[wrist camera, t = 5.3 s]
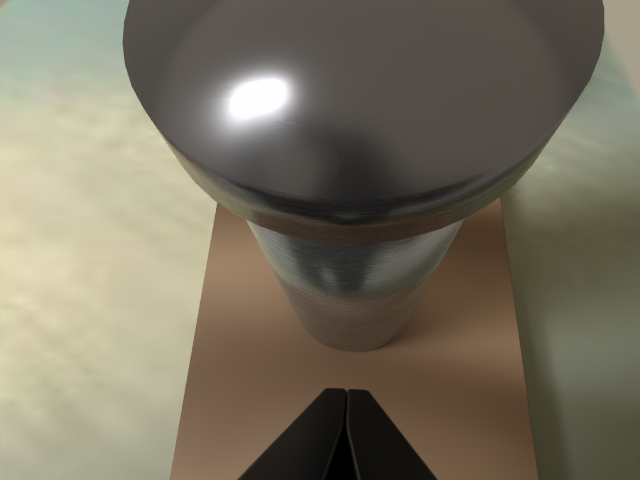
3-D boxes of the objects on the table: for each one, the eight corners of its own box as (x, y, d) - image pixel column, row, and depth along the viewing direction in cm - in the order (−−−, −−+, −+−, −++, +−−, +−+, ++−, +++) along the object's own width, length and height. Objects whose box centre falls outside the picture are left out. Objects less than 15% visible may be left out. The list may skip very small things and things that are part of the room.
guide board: (540, 592, 12) (556, 607, 11) (168, 559, 13) (154, 569, 12) (468, 22, 21) (473, 4, 20) (254, 28, 22) (250, 11, 21)
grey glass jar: (432, 368, 13) (669, 201, 3) (273, 361, 14) (61, 195, 4) (424, 223, 15) (557, -148, 5) (286, 220, 16) (172, -125, 6)
